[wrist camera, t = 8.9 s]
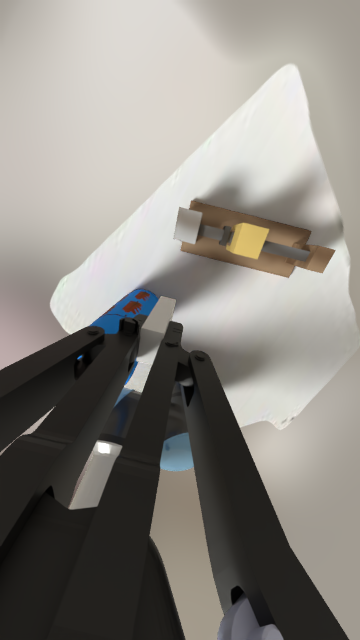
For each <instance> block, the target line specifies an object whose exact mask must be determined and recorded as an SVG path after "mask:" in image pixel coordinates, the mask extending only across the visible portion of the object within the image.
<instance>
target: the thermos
mask: <svg viewBox="0 0 360 640" xmlns="http://www.w3.org/2000/svg"><path fill="white" fill-rule="evenodd" d="M158 300H159V299H158V298H157V297H156V295H154V294H153V293H151V292H150V291H147V290H144V289H142V290H135V291H133V292H131V293H129V294H128V295H126V296H125V297H123V298H122V299H121V300H120V301H119V302H117V303H116V304H115V305H114V306H113V307H111V308H110V309H109V310H108V311H107V312H105V313H104V314H103V315H102V316H100V317H99V318H98V319H97V320H96V321H94V322H93V323H92V324H91V325H90V326H98V327H101V328H103V329H104V330H105V334H116V333H117V332H118V331H119V320H120V319H121V318H125V317H131V318H134V317H135V316H136V315H138V314H143V315H147V316H149V315H150V313H151V311H152V310H153V308H154V307H155V305H156V303H157V302H158ZM81 357H82V355H81V356H80V357H78V358H77V359H79V358H81ZM136 360H137V357H136V359H135V363H134V367H133V369H132V371H131V373H130V375H129V377H128V379H127V381H126V383H125V384H127V382H128V381H129V379H130V378H131V376H132V374H133V372H134V370H135V368H136V366H137V364H138V361H136Z"/></svg>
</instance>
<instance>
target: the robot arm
mask: <svg viewBox="0 0 360 640" xmlns="http://www.w3.org/2000/svg"><path fill="white" fill-rule="evenodd" d="M175 303H176V299H172V298H168V297H164V296H161V297H160V299H159V300H158V302H157V303H156V305H155V307H154V308H153V310H152V311H151V313H150V315H149V316H147V315H143V314H138V315H136V316H135V317H134V318H131V317H125V318H121V319H120V320H119V331H118V332H117V333H116V334H105V330H104V329H103V328H101V327H98V326H88V327H85V328H83V329H81V330H79V331H77V332H75V333H73V334H71V335H69V336H67V337H65V338H63V339H61V340H59V341H58V342H55V343H53V344H51V345H49V346H47V347H45V348H43V349H41V350H40V351H37V352H35V353H34V354H31V355H29V356H28V357H25V358H23V359H21V360H19V361H18V362H15V363H13V364H11V365H9V366H7V367H5V368H4V369H2V370H0V452H1V451H2V450H3V449H4V448H6V447H7V446H8V445H9V444H10V443H12V442H13V441H14V440H15V439H16V438H17V437H19V436H20V435H21V434H22V433H24V432H25V431H26V430H27V429H28V428H30V427H31V426H32V425H33V424H34V423H36V422H37V421H38V420H39V419H40V418H41V417H43V416H44V415H45V414H46V413H47V412H49V411H50V410H51V409H52V408H53V407H54V409H53V410H52V411H51V412H50V413H49V415H48V416H47V417H46V418H45V419H44V421H43V422H42V423H41V424H40V426H39V427H38V428H37V429H36V430H35V431H34V432H33V433H31V434H27V435H22V436H20V437H19V438H17V439H16V440H15V441H14V442H13V443H12V444H11V445H10V446H9V447H8V448H7V449H6V450H5V451H4V452H3V453H2V455H1V456H0V640H185V636H184V633H183V629H182V626H181V622H180V619H179V616H178V612H177V608H176V605H175V602H174V598H173V595H172V591H171V588H170V585H169V581H168V577H167V574H166V571H165V567H164V564H163V561H162V558H161V556H160V553H159V551H158V549H157V547H156V545H155V543H154V542H153V540H152V539H151V537H150V536H149V534H150V529H151V523H152V517H153V511H154V505H155V499H156V493H157V487H158V481H159V475H160V468H162V469H164V470H169V471H183V470H186V469H190V468H192V467H194V470H195V476H196V482H197V487H198V493H199V499H200V505H201V511H202V517H203V523H204V529H205V535H206V540H207V546H208V552H209V557H210V562H211V567H212V572H213V577H214V581H215V585H216V588H217V592H218V596H219V599H220V603H221V607H222V610H223V613H224V617H223V619H222V621H221V624H220V627H219V631H218V638H217V640H349V639H348V637H347V635H346V634H345V632H344V631H343V629H342V628H341V626H340V624H339V623H338V621H337V620H336V618H335V617H334V615H333V613H332V612H331V610H330V609H329V607H328V606H327V604H326V603H325V601H324V599H323V598H322V596H321V595H320V593H319V591H318V590H317V588H316V587H315V585H314V584H313V582H312V580H311V579H310V577H309V576H308V575H307V573H306V571H305V570H304V568H303V566H302V565H301V563H300V562H299V560H298V559H297V557H296V556H295V554H294V552H293V551H292V549H291V548H290V546H289V543H288V541H287V538H286V536H285V534H284V531H283V529H282V527H281V524H280V522H279V520H278V518H277V515H276V512H275V510H274V508H273V505H272V503H271V501H270V499H269V496H268V494H267V491H266V489H265V486H264V484H263V482H262V480H261V477H260V475H259V472H258V470H257V468H256V466H255V463H254V461H253V458H252V456H251V454H250V451H249V449H248V446H247V444H246V442H245V439H244V437H243V435H242V432H241V430H240V428H239V425H238V423H237V420H236V418H235V416H234V413H233V411H232V409H231V406H230V404H229V402H228V399H227V397H226V395H225V392H224V390H223V387H222V385H221V383H220V380H219V378H218V376H217V373H216V371H215V369H214V366H213V364H212V361H211V359H210V357H209V356H208V355H207V354H206V353H204V352H202V351H198V350H197V351H192V352H191V353H188V352H186V351H185V350H184V349H182V347H181V345H180V343H181V337H182V332H183V326H182V324H181V323H177V322H173V321H172V316H173V312H174V308H175ZM81 355H82V357H81V358H79V359H77V358H78V357H80V356H81ZM136 357H137V360H136V361H138V362H142V363H146V364H150V365H152V367H151V370H150V372H149V375H148V378H147V381H146V383H145V386H144V389H143V392H142V393H141V392H138V391H135V390H134V389H132V390H131V389H127V388H124V385H125V383H126V381H127V379H128V377H129V375H130V373H131V371H132V369H133V367H134V363H135V359H136ZM92 450H93V457H92V459H91V461H90V463H89V465H88V468H87V470H86V472H85V474H84V477H83V479H82V481H81V483H80V485H79V488H78V490H77V492H76V494H75V497H74V499H73V501H72V503H71V505H70V508H69V509H68V506H69V504H70V501H71V498H72V495H73V491H74V488H75V485H76V483H77V480H78V478H79V476H80V474H81V472H82V470H83V468H84V466H85V464H86V462H87V460H88V458H89V456H90V454H91V452H92Z"/></svg>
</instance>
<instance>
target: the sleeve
mask: <svg viewBox="0 0 360 640" xmlns="http://www.w3.org/2000/svg"><path fill="white" fill-rule="evenodd" d="M232 230H234V231H235V232H234V236H233V239H232V242H231V245H230V246H229V245H227V247H226V250H228V251H230V252H232V253H234V254H238V255H242V256H246V257H250V258H254V259H258V257H259V254H260V252H261V249H262V247H263V244H264V242H265V239H266V237H267V234H268V232H269V229H267V228H263V227H259V226H255V225H251V224H247V223H240V224H237V225H233V228H232Z"/></svg>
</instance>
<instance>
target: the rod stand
mask: <svg viewBox="0 0 360 640" xmlns="http://www.w3.org/2000/svg"><path fill="white" fill-rule="evenodd" d="M240 223H247V224H251V225H255V226H259V227H263V228H267V229H269V232H268V234H267V237H266V239H265V242H264V244H263V247H262V249H261V252H260V254H259V257H258V259H254V258H250V257H246V256H242V255H238V254H234V253H232V252H230V251H228V250H226V247H227V245H229V246H230V245H231V242H232V239H233V236H234V232H235V231H234V230H232V228H233V225H237V224H240ZM311 232H312V231H310V230H306V229H302V228H298V227H294V226H290V225H286V224H282V223H278V222H274V221H270V220H266V219H262V218H258V217H254V216H250V215H246V214H243V213H239V212H235V211H231V210H227V209H223V208H219V207H215V206H211V205H207V204H203V203H199V202H195V201H191V204H190V208H189V209H185V208H181V207H179V211H178V217H177V222H176V227H175V233H174V238H173V239H176V240H180V241H182V246H181V251H184V252H188V253H192V254H196V255H200V256H204V257H208V258H212V259H216V260H220V261H224V262H228V263H232V264H236V265H240V266H244V267H248V268H252V269H256V270H260V271H264V272H268V273H272V274H276V275H280V276H284V277H288V278H289V276H290V274H291V272H292V270H293V268H294V266H298V267H301V268H304V269H307V270H311V271H315V272H319V273H323V271H324V270H325V268H326V266H327V264H328V263H329V261H330V259H331V257H332V256H333V254H334V252H335V250H333V249H329V248H325V247H321V246H315V245H305V244H306V242H307V240H308V238H309V236H310V234H311Z"/></svg>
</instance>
